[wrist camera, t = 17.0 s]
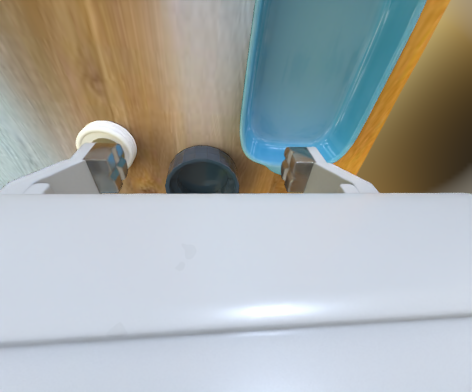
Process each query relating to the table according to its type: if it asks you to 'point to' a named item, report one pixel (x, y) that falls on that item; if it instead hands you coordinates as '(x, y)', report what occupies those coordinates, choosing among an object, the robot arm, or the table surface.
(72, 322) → the robot arm
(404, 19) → the casserole dish
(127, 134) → the coaster
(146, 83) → the table surface
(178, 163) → the bowl
